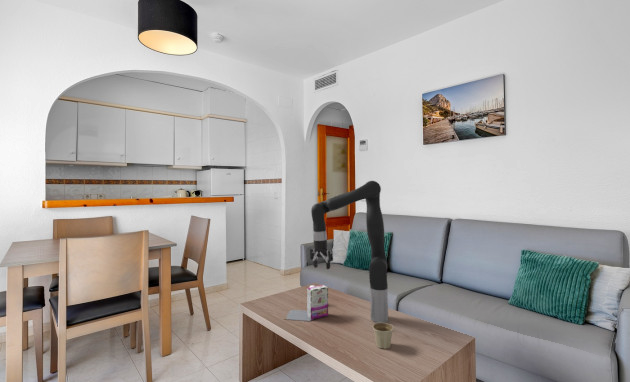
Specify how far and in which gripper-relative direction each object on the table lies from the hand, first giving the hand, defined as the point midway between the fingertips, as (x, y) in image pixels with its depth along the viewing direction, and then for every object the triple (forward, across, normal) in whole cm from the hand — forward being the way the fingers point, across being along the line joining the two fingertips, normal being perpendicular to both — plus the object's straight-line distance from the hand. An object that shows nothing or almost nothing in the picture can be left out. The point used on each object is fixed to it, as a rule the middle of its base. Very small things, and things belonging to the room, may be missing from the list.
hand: (321, 268), depth 175 cm
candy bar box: (+27, +4, +2) cm, 28 cm away
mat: (+27, +13, +6) cm, 30 cm away
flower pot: (+29, -40, +10) cm, 50 cm away
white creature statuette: (+27, +17, -12) cm, 34 cm away
